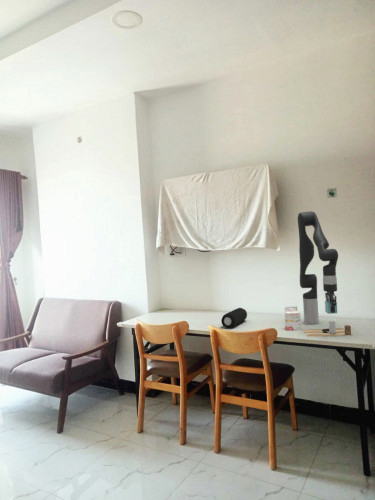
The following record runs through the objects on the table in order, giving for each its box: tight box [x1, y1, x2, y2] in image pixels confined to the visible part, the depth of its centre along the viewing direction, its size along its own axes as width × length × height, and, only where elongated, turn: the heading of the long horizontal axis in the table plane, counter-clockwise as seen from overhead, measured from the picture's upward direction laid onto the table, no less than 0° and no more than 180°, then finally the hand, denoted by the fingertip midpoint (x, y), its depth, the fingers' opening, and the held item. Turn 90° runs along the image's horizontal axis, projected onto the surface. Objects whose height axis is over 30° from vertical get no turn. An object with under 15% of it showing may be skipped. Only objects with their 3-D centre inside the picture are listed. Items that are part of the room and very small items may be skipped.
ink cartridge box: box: [284, 305, 302, 332], centre depth 225 cm, size 9×5×15 cm, turn 92°
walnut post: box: [343, 324, 352, 336], centre depth 206 cm, size 3×3×5 cm
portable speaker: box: [221, 307, 248, 329], centre depth 249 cm, size 26×10×10 cm, turn 148°
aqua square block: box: [324, 300, 338, 315], centre depth 209 cm, size 5×5×7 cm
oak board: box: [302, 327, 353, 338], centre depth 213 cm, size 16×25×1 cm, turn 85°
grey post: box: [328, 321, 336, 335], centre depth 209 cm, size 3×3×7 cm
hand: (331, 311), depth 209 cm, fingers closed on aqua square block, 5 cm apart
